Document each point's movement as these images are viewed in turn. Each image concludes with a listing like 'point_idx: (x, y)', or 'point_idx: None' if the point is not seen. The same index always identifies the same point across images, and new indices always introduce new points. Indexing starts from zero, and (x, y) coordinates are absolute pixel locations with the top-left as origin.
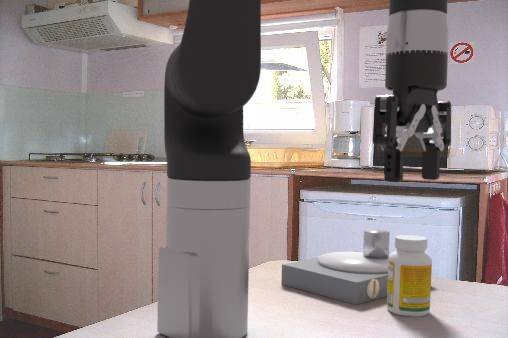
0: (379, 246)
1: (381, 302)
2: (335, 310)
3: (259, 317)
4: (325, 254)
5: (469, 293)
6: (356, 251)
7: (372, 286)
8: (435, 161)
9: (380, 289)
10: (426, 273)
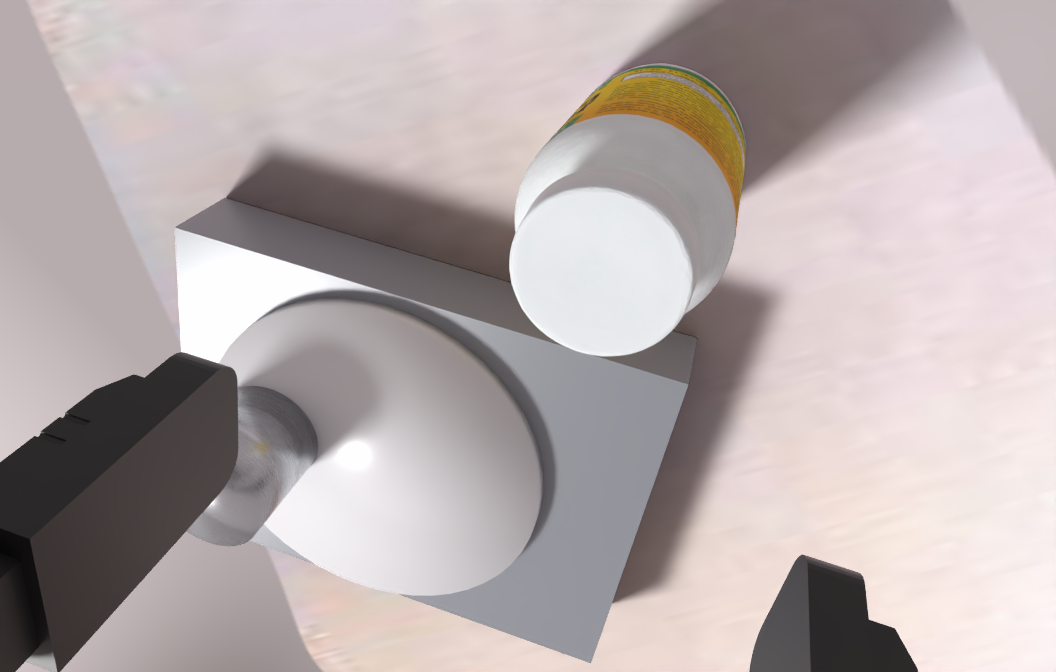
0: (273, 442)
1: None
2: (814, 377)
3: (1049, 552)
4: (382, 584)
5: (223, 11)
6: None
7: None
8: (116, 477)
9: None
10: (673, 113)
